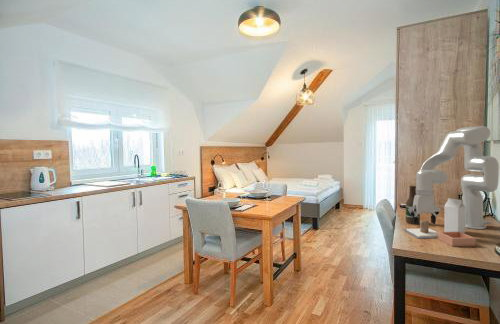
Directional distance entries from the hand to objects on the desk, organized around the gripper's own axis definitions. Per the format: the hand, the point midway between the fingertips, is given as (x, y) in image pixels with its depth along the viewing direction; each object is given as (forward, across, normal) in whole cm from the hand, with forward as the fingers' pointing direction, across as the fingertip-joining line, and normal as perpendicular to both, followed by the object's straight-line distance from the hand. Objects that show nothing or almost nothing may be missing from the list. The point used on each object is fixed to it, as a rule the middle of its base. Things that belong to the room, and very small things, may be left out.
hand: (424, 223), depth 156 cm
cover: (+6, 0, 0) cm, 6 cm away
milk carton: (+6, -18, -2) cm, 19 cm away
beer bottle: (+6, -6, -23) cm, 25 cm away
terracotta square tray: (+6, -7, +15) cm, 18 cm away
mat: (+6, 0, 0) cm, 6 cm away
